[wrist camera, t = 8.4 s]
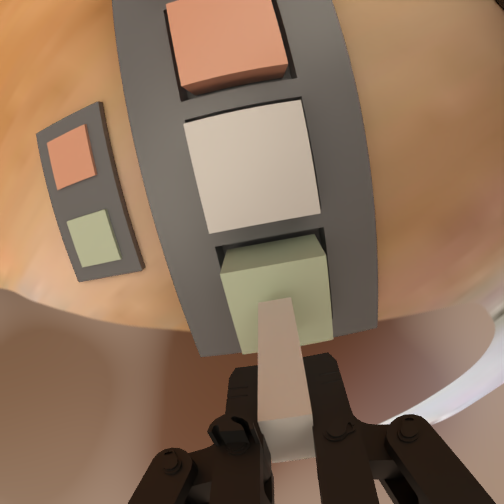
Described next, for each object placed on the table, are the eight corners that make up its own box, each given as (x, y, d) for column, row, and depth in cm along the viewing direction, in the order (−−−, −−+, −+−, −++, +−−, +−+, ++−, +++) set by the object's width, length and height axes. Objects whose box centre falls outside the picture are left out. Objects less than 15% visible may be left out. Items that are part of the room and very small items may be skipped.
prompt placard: (40, 133, 16) (33, 134, 16) (102, 102, 16) (95, 101, 15) (82, 278, 21) (76, 283, 20) (145, 267, 20) (140, 272, 19)
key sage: (226, 249, 17) (219, 274, 14) (314, 233, 16) (326, 255, 13) (245, 322, 19) (242, 354, 16) (323, 308, 18) (333, 339, 15)
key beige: (198, 127, 14) (183, 124, 11) (292, 108, 14) (300, 100, 11) (218, 216, 16) (209, 233, 13) (309, 199, 16) (320, 213, 13)
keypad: (125, -39, 11) (109, -56, 9) (285, -75, 10) (288, -97, 7) (207, 331, 22) (200, 357, 19) (364, 304, 21) (377, 327, 18)
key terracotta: (180, 24, 13) (165, 4, 10) (264, 6, 13) (265, -19, 10) (195, 95, 15) (181, 86, 12) (282, 77, 14) (288, 63, 11)
